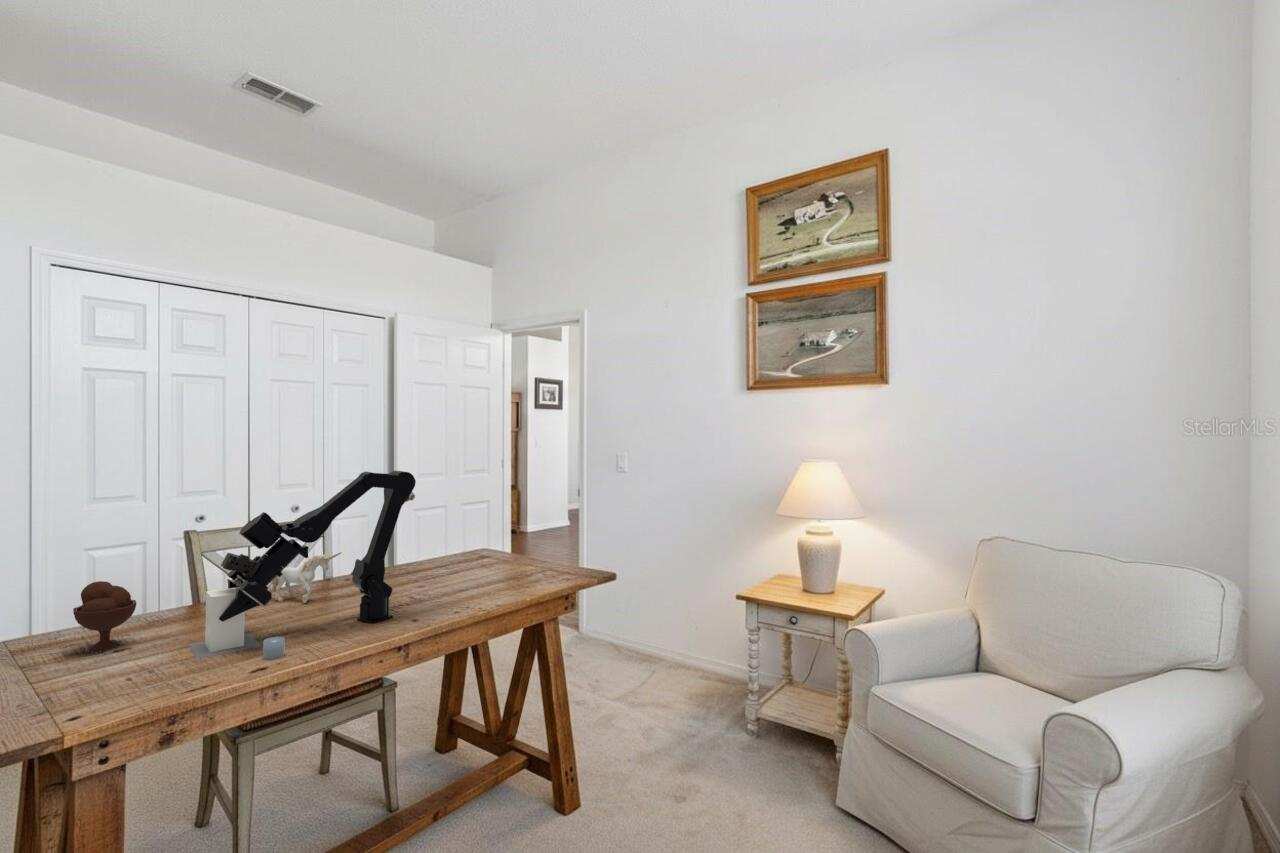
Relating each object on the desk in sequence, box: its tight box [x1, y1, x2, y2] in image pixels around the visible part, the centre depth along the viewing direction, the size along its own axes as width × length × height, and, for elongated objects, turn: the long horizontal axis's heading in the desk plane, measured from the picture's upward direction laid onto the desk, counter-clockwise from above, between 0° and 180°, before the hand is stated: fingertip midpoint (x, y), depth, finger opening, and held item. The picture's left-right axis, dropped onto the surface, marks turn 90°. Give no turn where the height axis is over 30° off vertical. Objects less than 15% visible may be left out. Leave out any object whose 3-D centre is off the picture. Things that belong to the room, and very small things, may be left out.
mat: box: [187, 632, 262, 660], centre depth 141 cm, size 12×12×1 cm
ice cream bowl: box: [72, 580, 138, 653], centre depth 139 cm, size 11×11×15 cm
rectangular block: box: [204, 587, 246, 652], centre depth 141 cm, size 6×6×12 cm
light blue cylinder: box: [262, 636, 286, 661], centre depth 135 cm, size 4×4×4 cm
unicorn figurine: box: [269, 551, 343, 604], centre depth 179 cm, size 7×20×13 cm, turn 97°
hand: (217, 616), depth 140 cm, fingers closed on rectangular block, 6 cm apart
